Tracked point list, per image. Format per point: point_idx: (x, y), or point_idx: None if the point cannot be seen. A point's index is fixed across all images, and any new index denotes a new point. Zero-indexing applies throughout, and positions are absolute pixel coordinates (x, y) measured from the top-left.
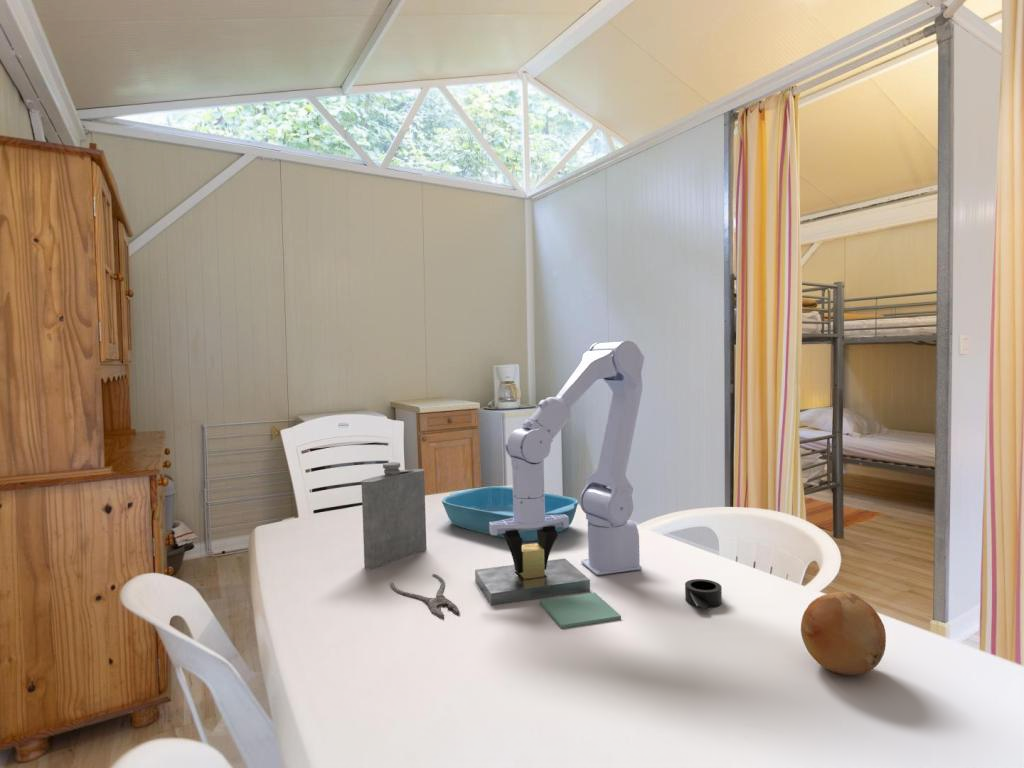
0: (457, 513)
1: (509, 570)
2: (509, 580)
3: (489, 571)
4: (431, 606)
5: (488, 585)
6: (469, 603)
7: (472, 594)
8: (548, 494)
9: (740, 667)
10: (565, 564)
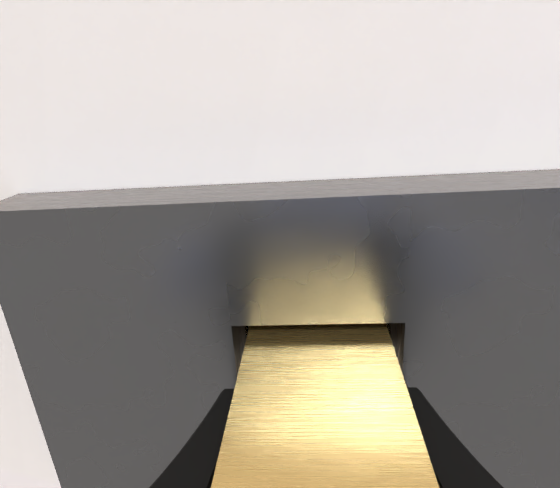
0: None
1: (204, 297)
2: (180, 433)
3: (71, 273)
4: None
5: (65, 453)
6: (11, 441)
7: (17, 364)
8: None
9: None
10: None
